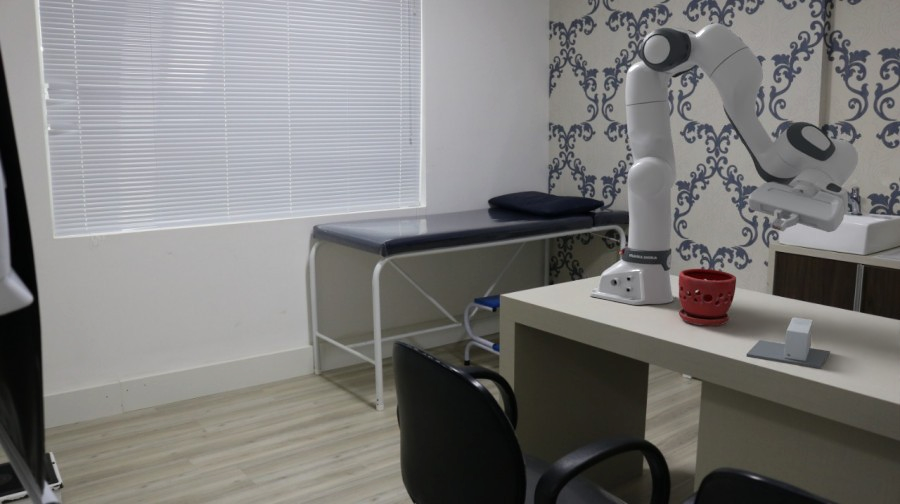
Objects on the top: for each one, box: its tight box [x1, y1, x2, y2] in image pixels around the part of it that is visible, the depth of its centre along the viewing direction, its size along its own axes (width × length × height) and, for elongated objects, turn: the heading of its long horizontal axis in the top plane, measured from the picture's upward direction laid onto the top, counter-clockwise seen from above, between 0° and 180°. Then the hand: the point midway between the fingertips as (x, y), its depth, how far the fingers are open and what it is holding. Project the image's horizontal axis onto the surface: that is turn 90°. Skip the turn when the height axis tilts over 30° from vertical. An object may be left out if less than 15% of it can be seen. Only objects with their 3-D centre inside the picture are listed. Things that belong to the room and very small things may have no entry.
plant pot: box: [678, 268, 737, 327], centre depth 180 cm, size 13×13×12 cm
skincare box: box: [784, 317, 814, 361], centre depth 155 cm, size 6×4×12 cm
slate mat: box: [745, 339, 831, 369], centre depth 155 cm, size 14×12×1 cm
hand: (776, 227), depth 164 cm, fingers closed
